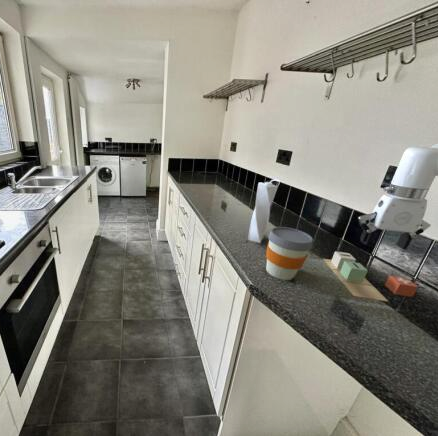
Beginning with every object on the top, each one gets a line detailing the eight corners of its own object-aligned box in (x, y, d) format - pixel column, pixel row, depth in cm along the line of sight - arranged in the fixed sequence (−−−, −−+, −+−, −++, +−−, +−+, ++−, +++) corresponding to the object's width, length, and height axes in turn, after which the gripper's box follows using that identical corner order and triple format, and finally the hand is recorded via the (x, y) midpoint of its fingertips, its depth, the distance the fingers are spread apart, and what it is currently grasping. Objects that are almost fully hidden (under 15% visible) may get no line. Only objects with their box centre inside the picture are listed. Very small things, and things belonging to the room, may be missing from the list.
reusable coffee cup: (268, 258, 90) (278, 223, 84) (305, 273, 82) (318, 235, 76) (254, 270, 82) (264, 233, 77) (293, 288, 74) (307, 247, 68)
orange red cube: (400, 289, 75) (406, 277, 73) (411, 298, 71) (418, 286, 69) (383, 286, 76) (389, 275, 74) (393, 296, 72) (400, 283, 70)
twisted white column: (266, 239, 106) (281, 178, 96) (263, 245, 100) (279, 182, 90) (248, 234, 110) (261, 176, 100) (244, 240, 104) (258, 179, 94)
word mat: (348, 264, 89) (349, 262, 88) (387, 303, 69) (389, 301, 68) (321, 260, 90) (322, 258, 90) (352, 297, 71) (353, 295, 70)
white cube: (344, 263, 87) (349, 253, 85) (351, 270, 83) (356, 259, 81) (330, 261, 88) (335, 251, 86) (336, 268, 84) (341, 257, 82)
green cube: (354, 274, 81) (359, 263, 79) (362, 282, 77) (368, 270, 75) (339, 272, 82) (344, 260, 80) (346, 279, 78) (351, 268, 76)
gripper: (378, 193, 64) (356, 246, 71) (457, 198, 61) (426, 255, 67) (362, 186, 71) (344, 236, 78) (432, 191, 67) (406, 243, 74)
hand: (382, 245), depth 72 cm, fingers open, 9 cm apart
